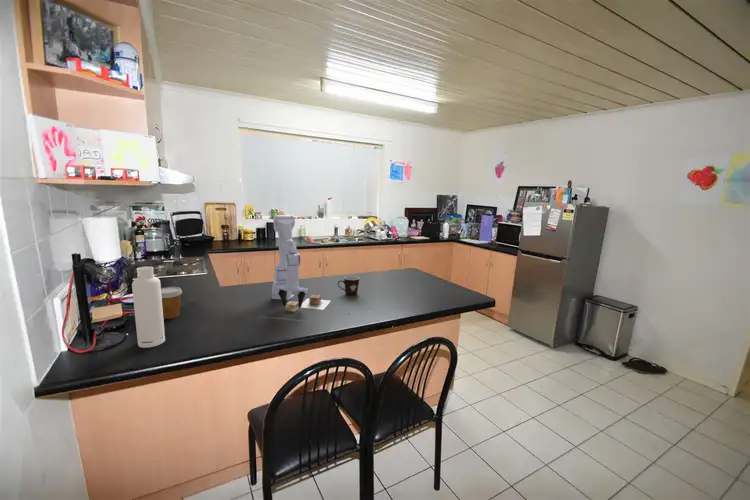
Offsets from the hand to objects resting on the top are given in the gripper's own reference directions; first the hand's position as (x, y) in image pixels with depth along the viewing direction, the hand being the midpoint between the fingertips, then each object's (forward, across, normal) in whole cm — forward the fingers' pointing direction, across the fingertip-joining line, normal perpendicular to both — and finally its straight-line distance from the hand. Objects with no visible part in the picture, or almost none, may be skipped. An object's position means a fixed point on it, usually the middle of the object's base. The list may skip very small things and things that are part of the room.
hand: (292, 306), depth 148 cm
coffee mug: (+2, +21, +30) cm, 37 cm away
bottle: (+3, -37, -41) cm, 55 cm away
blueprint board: (+2, +8, +10) cm, 13 cm away
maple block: (+2, 0, 0) cm, 3 cm away
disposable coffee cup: (+2, -48, -19) cm, 52 cm away
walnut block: (+2, +8, +10) cm, 13 cm away
